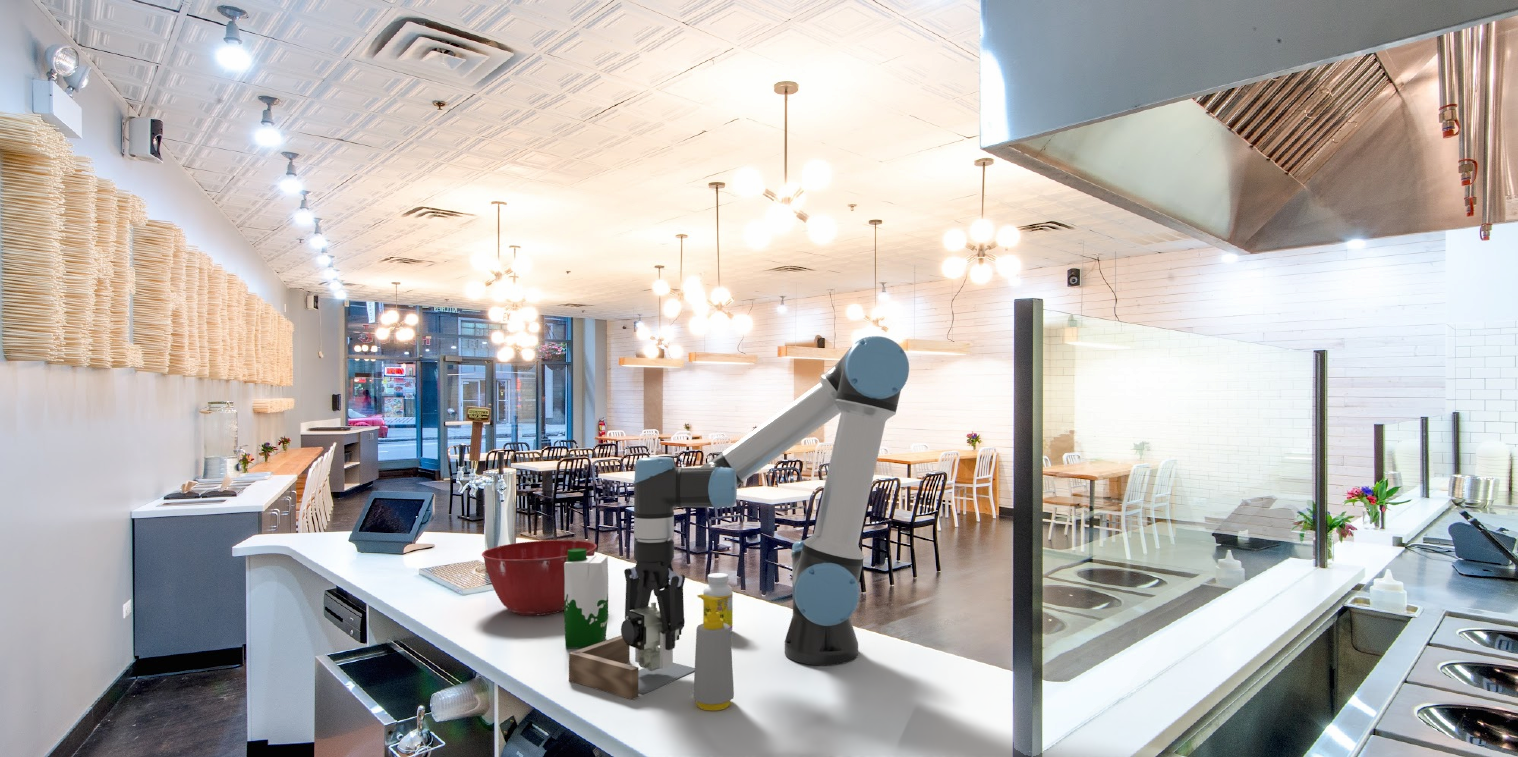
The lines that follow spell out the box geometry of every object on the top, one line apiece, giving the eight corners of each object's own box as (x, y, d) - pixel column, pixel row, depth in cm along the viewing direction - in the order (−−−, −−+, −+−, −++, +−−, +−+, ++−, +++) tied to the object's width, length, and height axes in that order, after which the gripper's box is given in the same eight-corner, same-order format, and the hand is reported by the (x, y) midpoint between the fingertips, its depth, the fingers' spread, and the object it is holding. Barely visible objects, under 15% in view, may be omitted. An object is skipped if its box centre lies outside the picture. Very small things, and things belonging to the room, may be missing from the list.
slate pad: (697, 669, 140) (697, 668, 140) (643, 694, 127) (643, 693, 127) (663, 660, 145) (663, 659, 145) (607, 683, 132) (607, 682, 132)
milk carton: (570, 636, 161) (571, 546, 162) (611, 636, 161) (611, 545, 162) (559, 649, 152) (560, 553, 154) (602, 649, 153) (603, 553, 154)
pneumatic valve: (619, 671, 134) (620, 606, 134) (669, 656, 142) (670, 595, 143) (637, 679, 130) (638, 612, 131) (687, 663, 138) (688, 600, 139)
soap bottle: (712, 693, 128) (712, 590, 129) (742, 702, 123) (741, 596, 124) (684, 705, 122) (684, 597, 123) (714, 715, 118) (714, 604, 119)
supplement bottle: (698, 634, 162) (697, 576, 163) (711, 626, 168) (710, 570, 169) (725, 637, 160) (724, 579, 160) (737, 629, 166) (737, 572, 167)
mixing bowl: (455, 619, 176) (456, 555, 177) (525, 592, 204) (526, 536, 204) (557, 628, 168) (557, 561, 169) (616, 598, 195) (616, 541, 196)
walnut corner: (685, 675, 137) (685, 648, 137) (631, 699, 125) (631, 669, 125) (623, 659, 146) (623, 634, 146) (568, 680, 134) (568, 652, 135)
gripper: (704, 540, 135) (704, 666, 134) (633, 532, 146) (632, 649, 145) (678, 546, 129) (678, 679, 128) (605, 537, 140) (604, 659, 138)
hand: (653, 662), depth 136 cm, fingers closed on pneumatic valve, 6 cm apart
